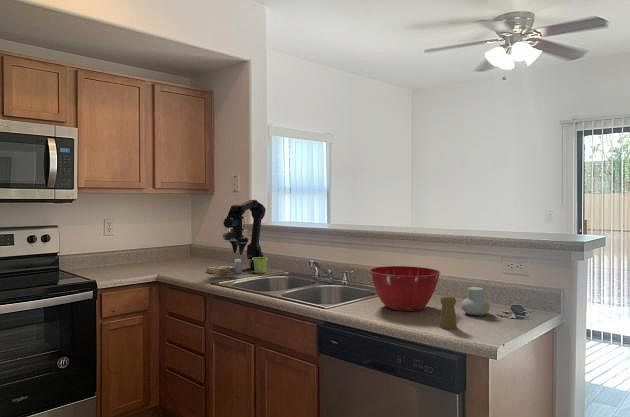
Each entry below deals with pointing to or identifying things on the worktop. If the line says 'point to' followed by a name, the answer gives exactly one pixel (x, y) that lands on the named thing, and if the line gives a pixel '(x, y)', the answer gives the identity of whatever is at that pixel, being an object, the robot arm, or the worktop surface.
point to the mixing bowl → (404, 286)
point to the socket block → (220, 269)
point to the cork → (448, 312)
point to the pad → (237, 274)
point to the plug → (237, 266)
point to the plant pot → (260, 264)
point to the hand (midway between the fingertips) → (237, 253)
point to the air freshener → (475, 302)
